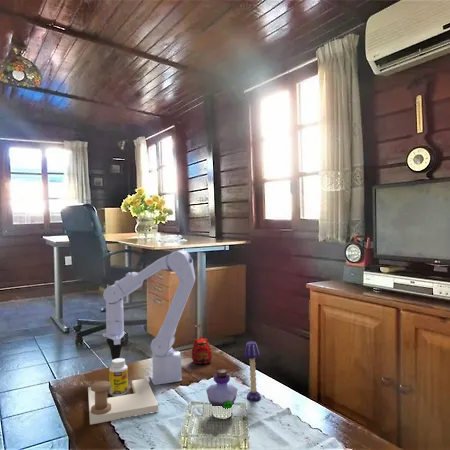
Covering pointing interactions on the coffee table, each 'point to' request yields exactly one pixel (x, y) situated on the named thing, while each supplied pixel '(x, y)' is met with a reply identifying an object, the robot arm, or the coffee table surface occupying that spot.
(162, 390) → the coffee table surface
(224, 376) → the potion bottle
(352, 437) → the coffee table surface
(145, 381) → the notched board
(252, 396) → the toy lamp
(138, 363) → the coffee table surface
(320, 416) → the coffee table surface
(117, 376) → the supplement bottle
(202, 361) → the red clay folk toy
